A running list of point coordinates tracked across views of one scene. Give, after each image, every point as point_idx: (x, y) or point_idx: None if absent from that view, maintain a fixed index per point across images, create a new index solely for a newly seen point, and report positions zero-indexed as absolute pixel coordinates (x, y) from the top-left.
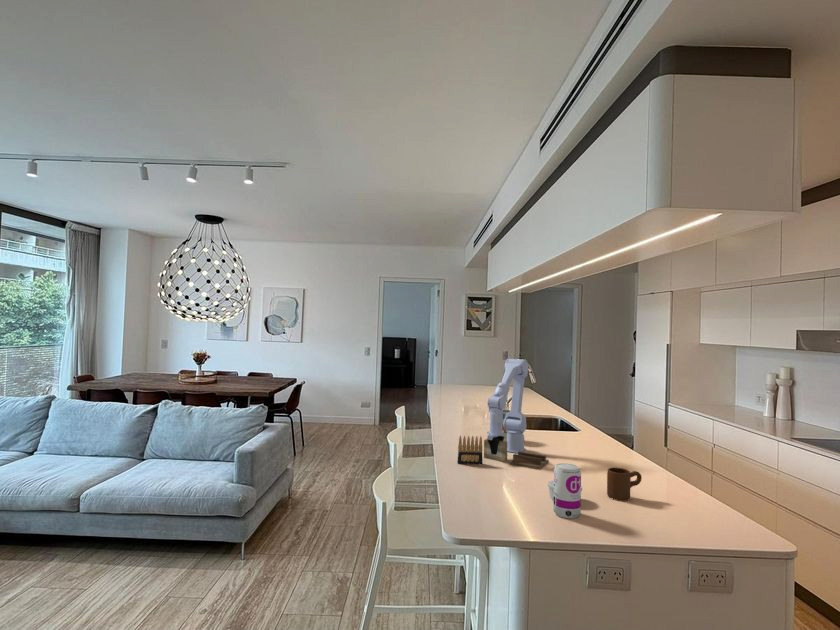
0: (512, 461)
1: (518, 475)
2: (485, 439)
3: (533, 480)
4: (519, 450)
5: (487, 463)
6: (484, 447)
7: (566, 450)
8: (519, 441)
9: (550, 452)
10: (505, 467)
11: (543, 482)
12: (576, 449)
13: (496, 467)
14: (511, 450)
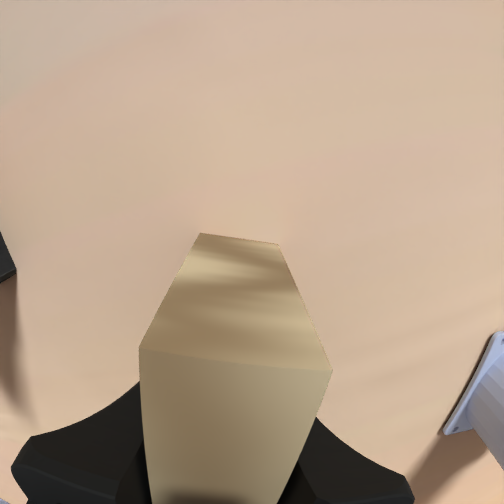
0: None
1: (5, 456)
2: (220, 366)
3: (8, 483)
4: (472, 426)
5: (40, 314)
6: (178, 282)
7: (489, 492)
8: (500, 465)
9: (467, 485)
10: (51, 425)
11: (19, 499)
12: (496, 496)
13: (12, 380)
14: (477, 391)
